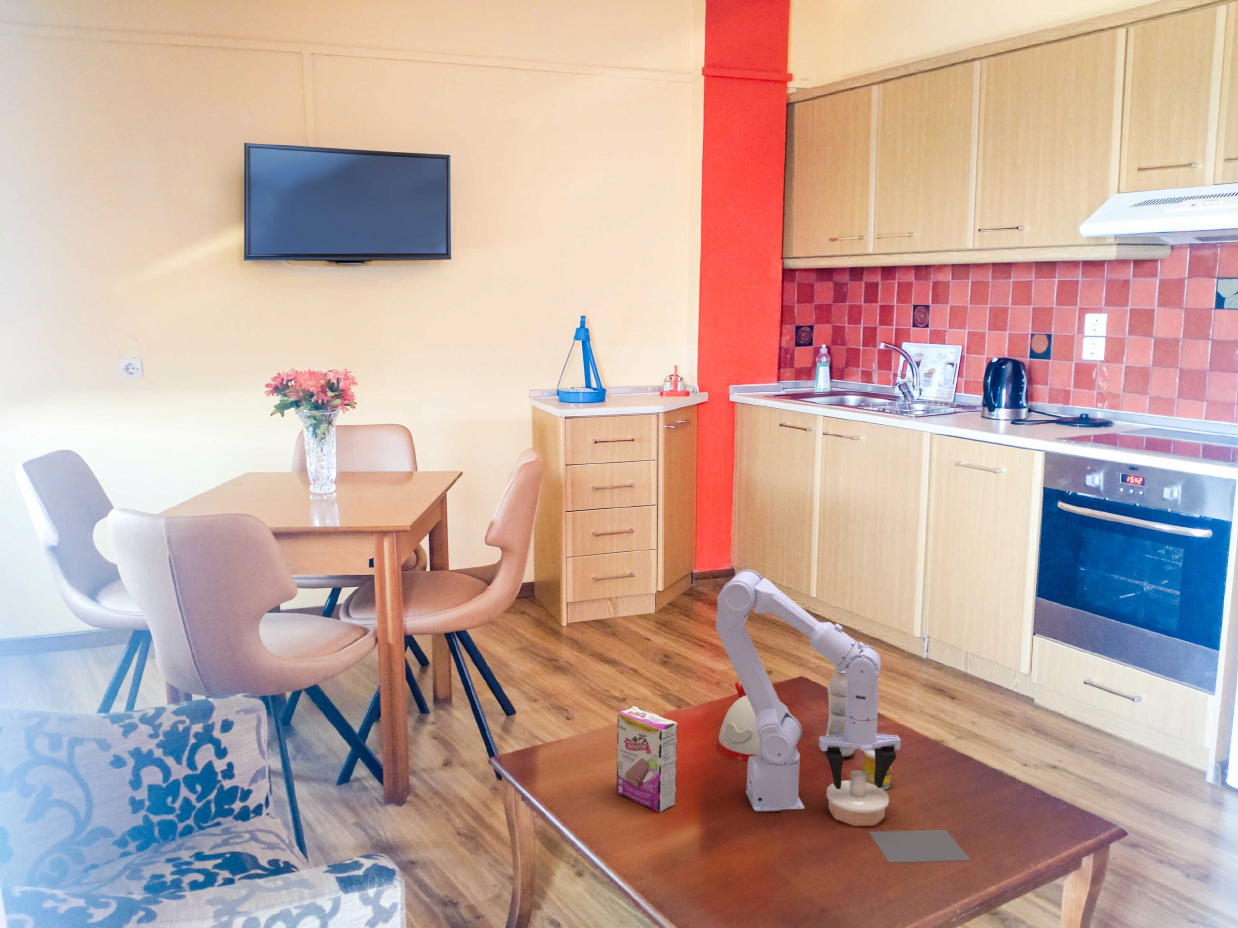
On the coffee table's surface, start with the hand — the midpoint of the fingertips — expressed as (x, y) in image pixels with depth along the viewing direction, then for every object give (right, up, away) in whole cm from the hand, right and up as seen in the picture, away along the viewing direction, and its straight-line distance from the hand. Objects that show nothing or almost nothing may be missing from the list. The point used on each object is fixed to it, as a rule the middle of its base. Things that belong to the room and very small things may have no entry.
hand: (857, 785), depth 177 cm
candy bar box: (-39, -5, +6) cm, 39 cm away
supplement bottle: (+7, -4, +13) cm, 16 cm away
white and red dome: (-15, -2, +29) cm, 33 cm away
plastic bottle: (+3, -2, +27) cm, 27 cm away
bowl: (0, -6, +1) cm, 6 cm away
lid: (0, -2, 0) cm, 2 cm away
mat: (+8, -7, -11) cm, 15 cm away
